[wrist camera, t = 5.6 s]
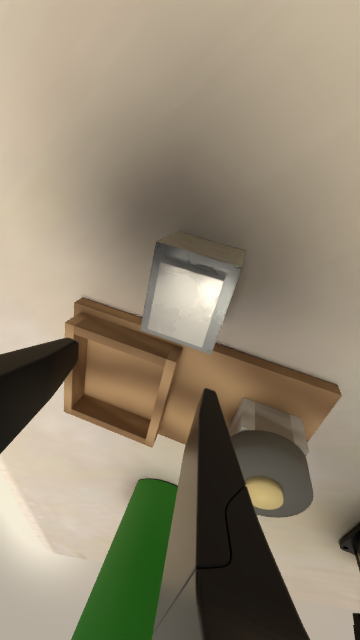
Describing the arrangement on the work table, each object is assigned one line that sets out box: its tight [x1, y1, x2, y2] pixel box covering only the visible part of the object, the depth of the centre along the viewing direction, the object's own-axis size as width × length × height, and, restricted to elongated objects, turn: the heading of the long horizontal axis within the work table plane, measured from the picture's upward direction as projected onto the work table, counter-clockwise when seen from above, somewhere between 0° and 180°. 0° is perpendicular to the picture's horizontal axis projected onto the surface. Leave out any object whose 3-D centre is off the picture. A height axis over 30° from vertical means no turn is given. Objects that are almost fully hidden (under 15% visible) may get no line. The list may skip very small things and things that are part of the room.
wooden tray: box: [64, 298, 342, 456], centre depth 23 cm, size 12×23×4 cm, turn 76°
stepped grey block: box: [140, 232, 245, 355], centre depth 17 cm, size 6×5×6 cm
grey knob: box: [231, 430, 313, 517], centre depth 20 cm, size 6×6×6 cm
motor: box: [71, 479, 178, 640], centre depth 25 cm, size 10×9×20 cm
